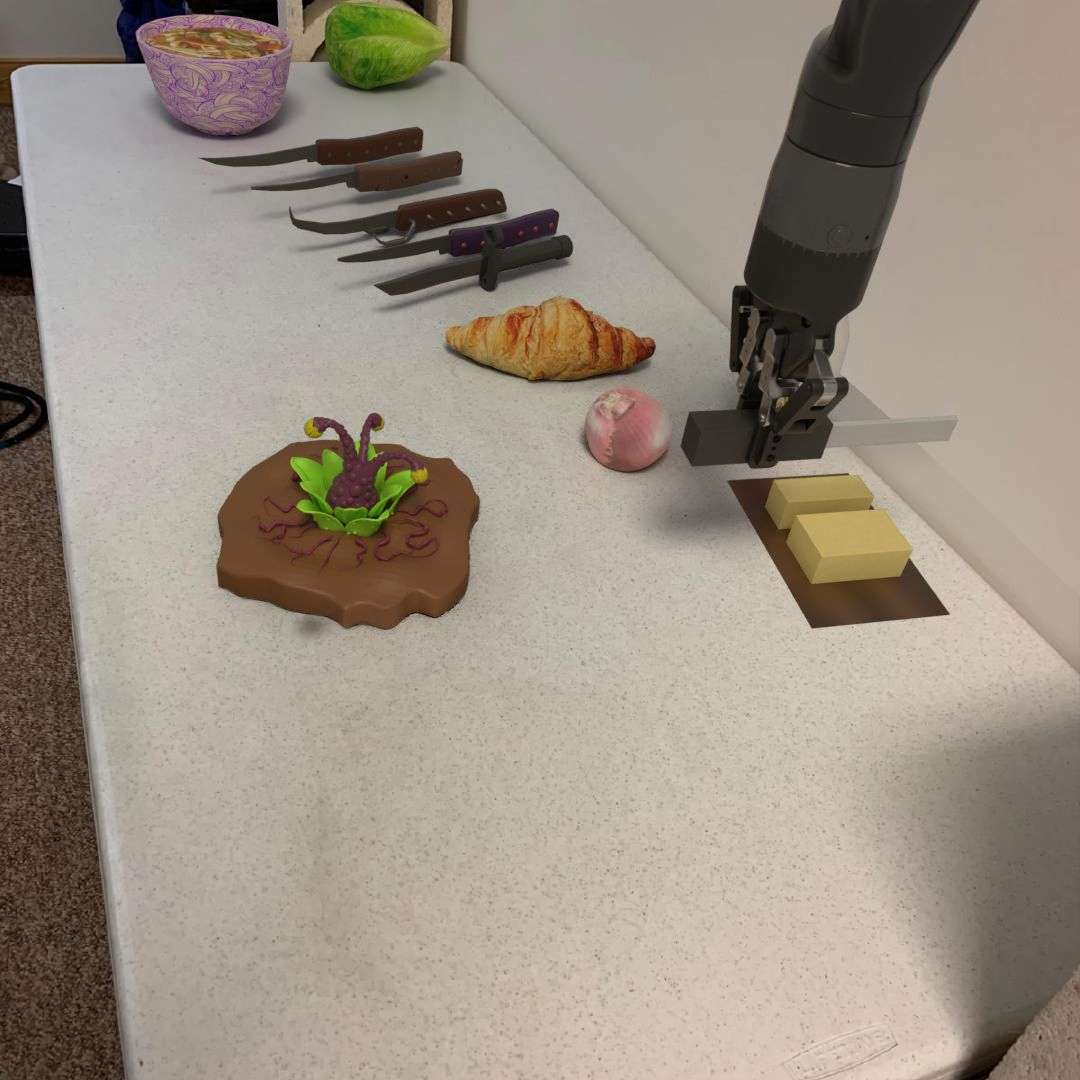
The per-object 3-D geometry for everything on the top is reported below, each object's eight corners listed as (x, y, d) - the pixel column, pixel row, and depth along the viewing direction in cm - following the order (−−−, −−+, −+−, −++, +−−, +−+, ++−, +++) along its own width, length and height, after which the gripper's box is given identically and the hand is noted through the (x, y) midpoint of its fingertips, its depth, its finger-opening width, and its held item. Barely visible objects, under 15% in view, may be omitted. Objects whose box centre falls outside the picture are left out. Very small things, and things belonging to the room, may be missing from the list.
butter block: (871, 535, 84) (883, 508, 82) (900, 576, 80) (913, 549, 78) (785, 542, 82) (795, 514, 80) (810, 584, 78) (822, 556, 76)
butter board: (845, 481, 91) (848, 472, 90) (945, 623, 78) (950, 614, 78) (724, 488, 88) (726, 479, 88) (808, 637, 75) (811, 628, 75)
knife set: (196, 195, 118) (192, 129, 113) (419, 162, 138) (424, 104, 133) (362, 331, 101) (366, 260, 96) (591, 271, 120) (604, 209, 115)
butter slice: (847, 501, 87) (858, 474, 85) (863, 523, 85) (874, 496, 83) (764, 506, 85) (773, 479, 83) (778, 529, 83) (787, 502, 81)
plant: (261, 446, 86) (250, 331, 78) (486, 474, 86) (497, 363, 79) (184, 611, 71) (162, 488, 63) (458, 644, 71) (468, 525, 64)
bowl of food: (156, 97, 144) (143, 9, 136) (297, 104, 148) (293, 19, 140) (140, 149, 130) (126, 55, 122) (298, 155, 134) (293, 64, 126)
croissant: (443, 396, 100) (443, 355, 93) (446, 311, 104) (447, 265, 96) (649, 406, 102) (666, 366, 95) (646, 322, 106) (662, 277, 98)
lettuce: (463, 96, 159) (467, 14, 151) (341, 102, 151) (339, 16, 143) (430, 68, 168) (432, -11, 160) (313, 72, 159) (310, -10, 151)
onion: (567, 439, 91) (577, 372, 87) (642, 428, 94) (656, 363, 89) (601, 492, 86) (614, 424, 81) (680, 479, 89) (697, 413, 84)
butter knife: (937, 431, 75) (952, 398, 73) (954, 450, 74) (970, 417, 72) (680, 446, 70) (688, 411, 68) (691, 467, 69) (700, 431, 67)
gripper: (937, 274, 55) (842, 511, 67) (828, 174, 65) (761, 395, 77) (815, 275, 53) (739, 519, 65) (722, 172, 63) (670, 399, 75)
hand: (751, 451), depth 71 cm, fingers closed on butter knife, 2 cm apart
